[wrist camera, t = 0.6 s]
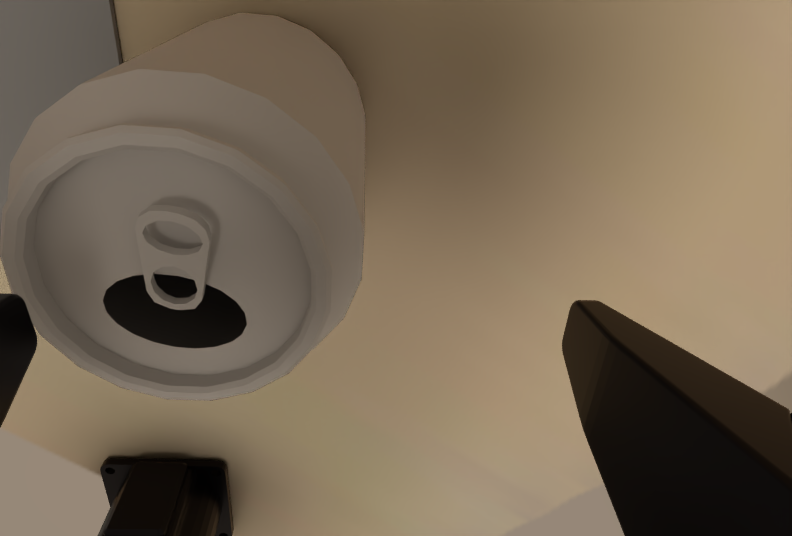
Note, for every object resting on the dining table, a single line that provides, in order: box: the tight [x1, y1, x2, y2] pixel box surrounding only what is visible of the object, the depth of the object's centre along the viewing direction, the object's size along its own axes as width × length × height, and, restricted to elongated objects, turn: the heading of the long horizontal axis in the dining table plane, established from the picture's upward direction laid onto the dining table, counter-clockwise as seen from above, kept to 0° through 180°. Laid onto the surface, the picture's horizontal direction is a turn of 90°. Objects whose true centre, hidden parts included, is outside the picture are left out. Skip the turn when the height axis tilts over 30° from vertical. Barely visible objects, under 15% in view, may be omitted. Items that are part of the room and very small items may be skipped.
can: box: [0, 13, 366, 401], centre depth 16 cm, size 8×8×12 cm
